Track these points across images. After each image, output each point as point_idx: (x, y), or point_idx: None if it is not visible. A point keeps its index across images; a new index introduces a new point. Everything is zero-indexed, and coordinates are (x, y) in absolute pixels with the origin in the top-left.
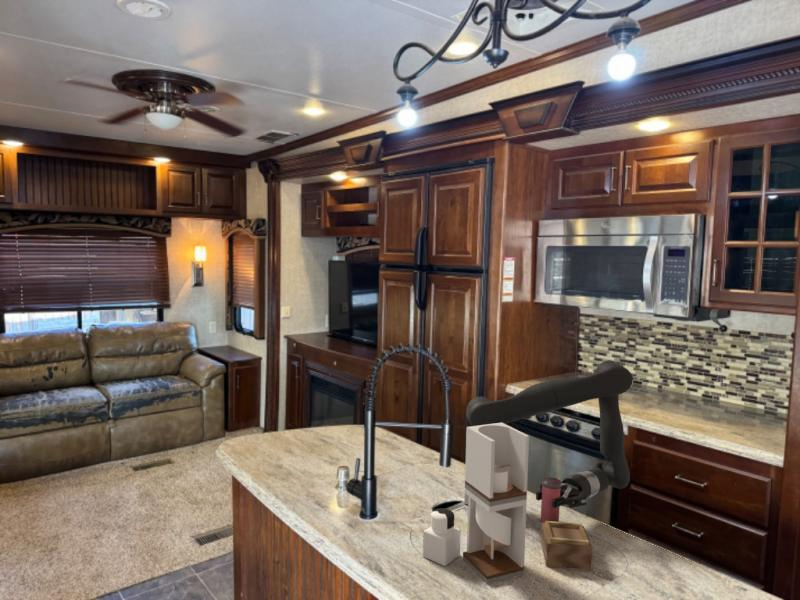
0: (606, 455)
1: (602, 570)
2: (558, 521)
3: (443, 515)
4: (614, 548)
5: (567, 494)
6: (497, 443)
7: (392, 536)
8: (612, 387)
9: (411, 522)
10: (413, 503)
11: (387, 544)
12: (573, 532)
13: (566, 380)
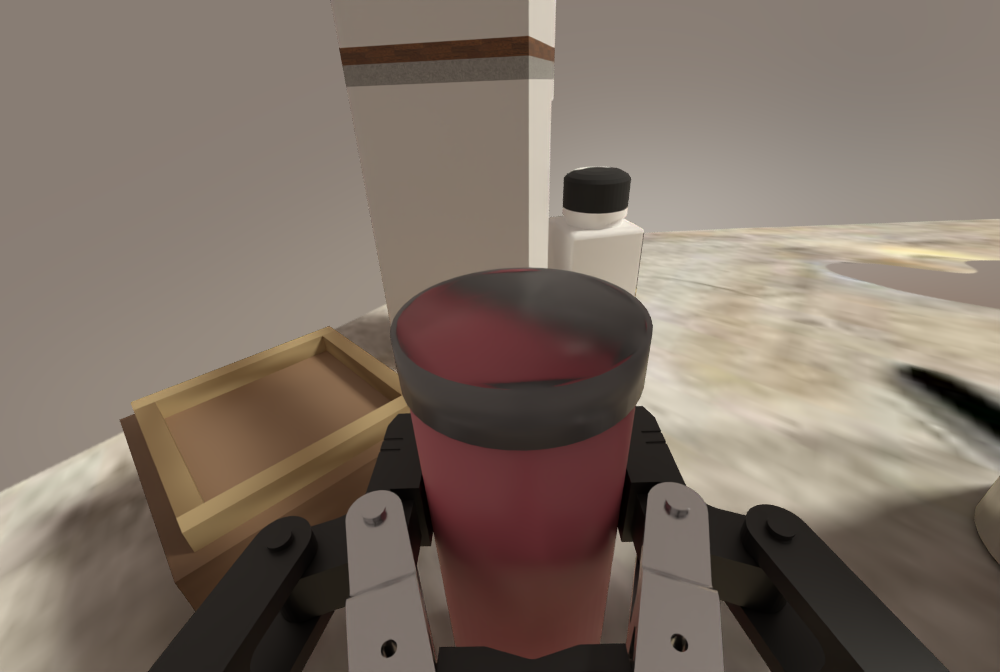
0: None
1: (109, 546)
2: (454, 640)
3: (578, 168)
4: None
5: (364, 592)
6: None
7: (719, 269)
8: None
9: (796, 305)
10: (982, 349)
11: (683, 259)
12: (246, 455)
13: None
